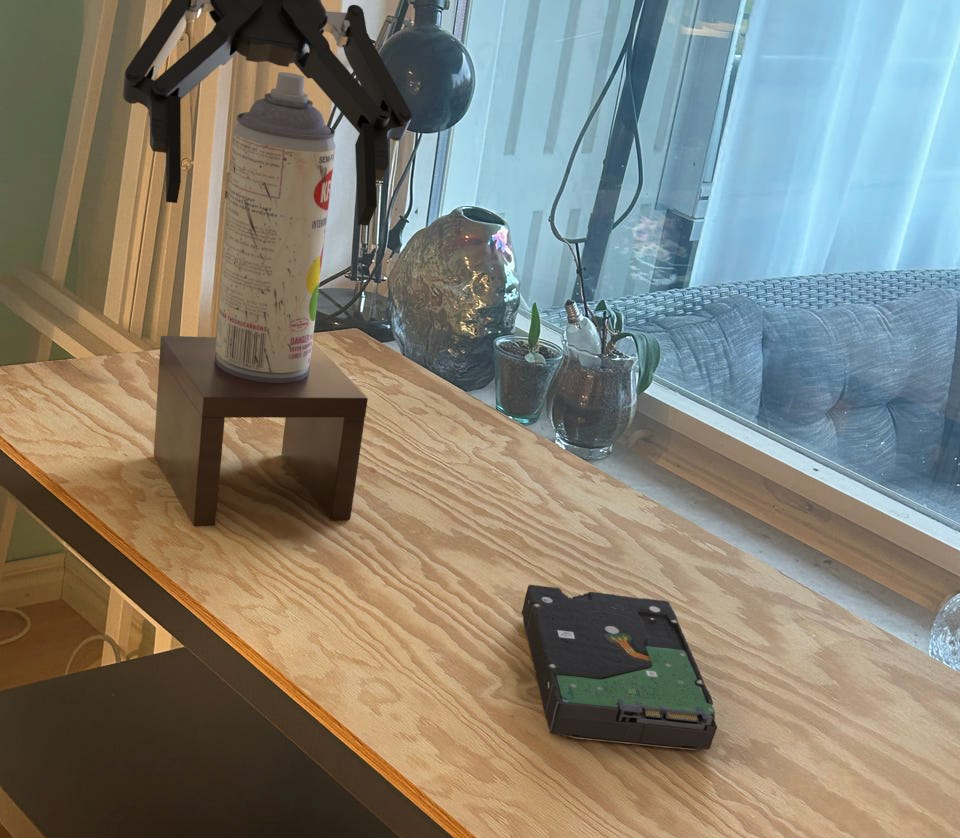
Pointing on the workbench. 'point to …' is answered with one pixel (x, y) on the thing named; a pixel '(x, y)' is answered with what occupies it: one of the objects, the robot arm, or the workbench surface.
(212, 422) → the shelf
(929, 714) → the workbench surface
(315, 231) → the aerosol can
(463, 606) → the workbench surface
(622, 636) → the disk drive
